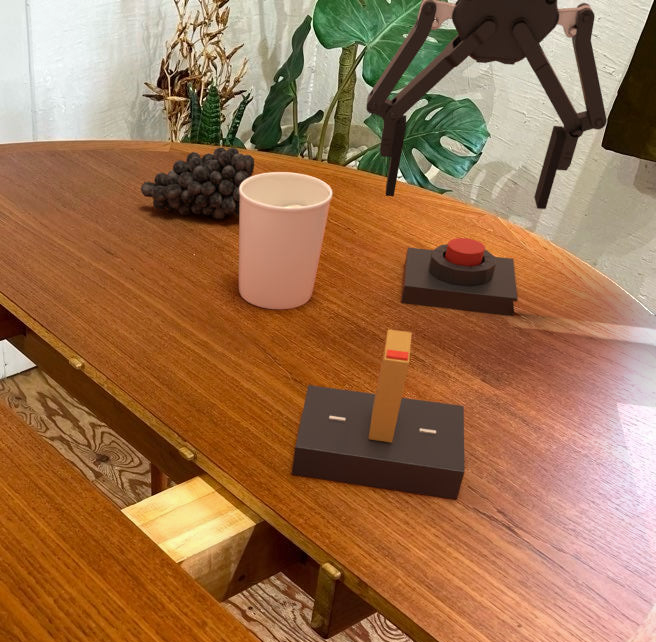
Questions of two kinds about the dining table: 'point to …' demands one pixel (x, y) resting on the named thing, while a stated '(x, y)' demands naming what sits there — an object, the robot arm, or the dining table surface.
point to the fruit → (191, 192)
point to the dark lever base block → (381, 444)
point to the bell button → (465, 252)
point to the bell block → (459, 282)
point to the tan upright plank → (390, 385)
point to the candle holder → (281, 237)
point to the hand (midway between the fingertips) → (463, 197)
